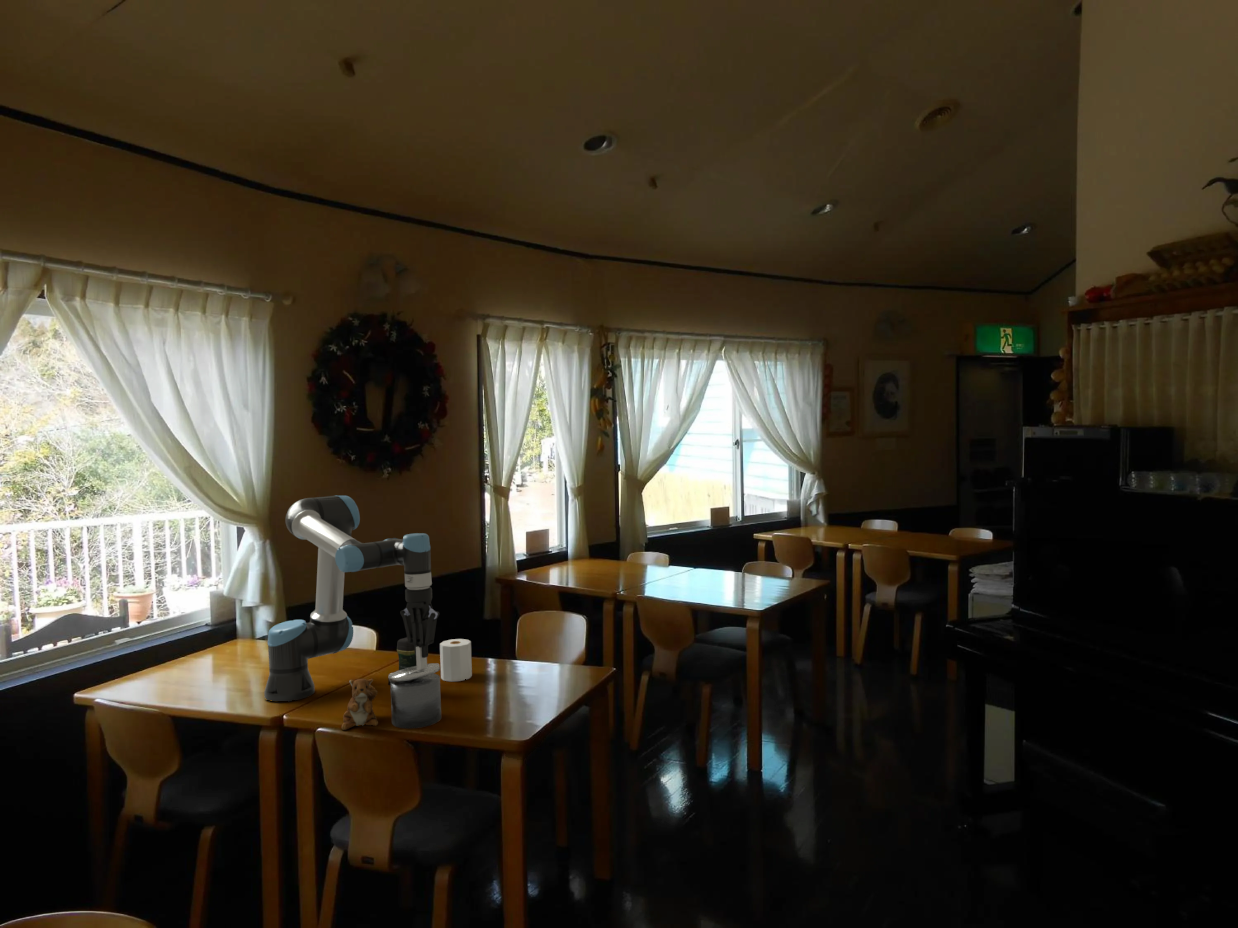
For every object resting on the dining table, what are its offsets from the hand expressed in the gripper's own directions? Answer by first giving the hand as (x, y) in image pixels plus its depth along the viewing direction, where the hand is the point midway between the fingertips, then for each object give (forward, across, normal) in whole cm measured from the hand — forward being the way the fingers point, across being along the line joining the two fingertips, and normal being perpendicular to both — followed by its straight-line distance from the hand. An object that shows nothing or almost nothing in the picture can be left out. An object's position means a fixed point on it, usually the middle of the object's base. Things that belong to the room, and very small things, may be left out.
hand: (422, 668), depth 236 cm
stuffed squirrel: (+16, -17, -8) cm, 25 cm away
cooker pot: (+16, -3, 0) cm, 16 cm away
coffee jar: (+16, -21, +19) cm, 32 cm away
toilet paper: (+16, -19, +38) cm, 46 cm away
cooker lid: (+2, -3, 0) cm, 4 cm away
